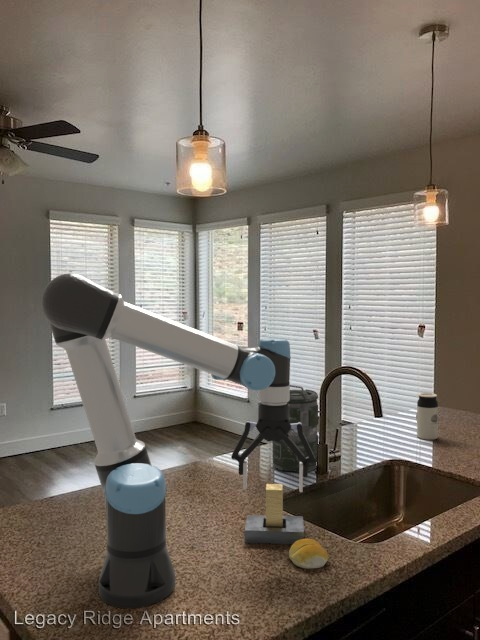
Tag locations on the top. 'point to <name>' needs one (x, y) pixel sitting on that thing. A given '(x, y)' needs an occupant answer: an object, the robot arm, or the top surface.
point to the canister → (306, 413)
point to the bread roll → (308, 554)
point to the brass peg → (274, 505)
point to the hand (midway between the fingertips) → (272, 489)
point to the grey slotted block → (273, 530)
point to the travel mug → (427, 416)
